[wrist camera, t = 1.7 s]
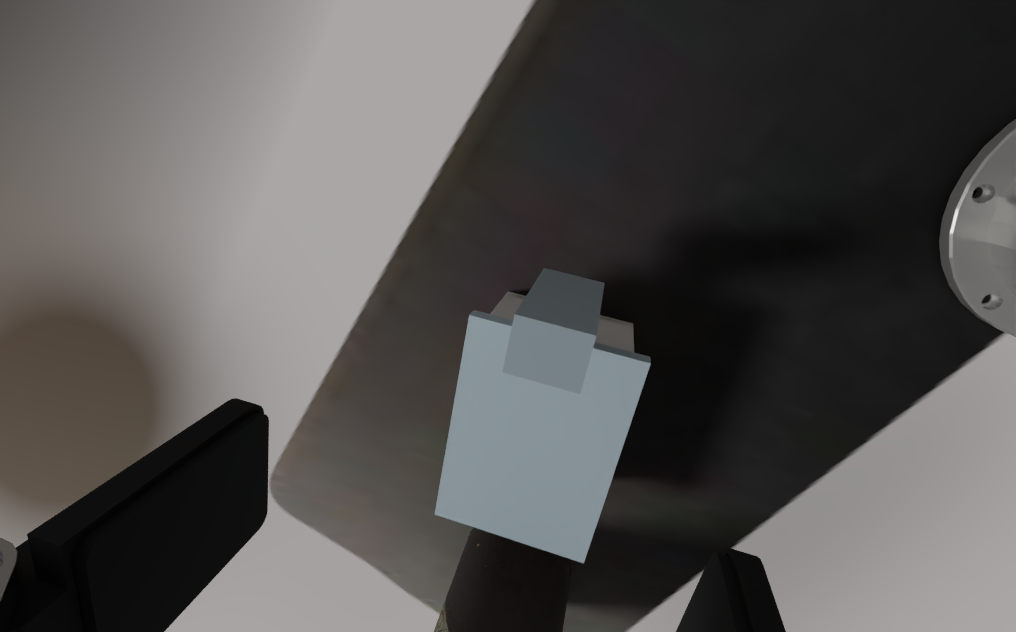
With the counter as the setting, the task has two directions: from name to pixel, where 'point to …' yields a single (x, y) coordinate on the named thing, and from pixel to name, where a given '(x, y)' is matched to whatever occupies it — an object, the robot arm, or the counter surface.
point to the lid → (539, 419)
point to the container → (505, 588)
